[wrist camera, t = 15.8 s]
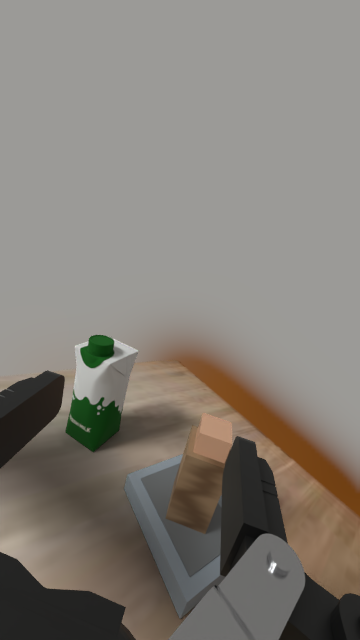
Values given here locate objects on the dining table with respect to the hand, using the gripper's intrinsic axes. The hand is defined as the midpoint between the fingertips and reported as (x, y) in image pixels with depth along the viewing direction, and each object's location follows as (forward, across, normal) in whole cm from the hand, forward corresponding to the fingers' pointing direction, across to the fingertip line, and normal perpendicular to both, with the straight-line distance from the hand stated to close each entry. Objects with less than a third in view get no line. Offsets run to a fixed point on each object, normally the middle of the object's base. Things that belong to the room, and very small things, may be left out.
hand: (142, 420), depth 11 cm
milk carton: (+28, +13, +30) cm, 44 cm away
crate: (+18, -6, +27) cm, 33 cm away
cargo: (+18, -6, +16) cm, 25 cm away
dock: (+19, -6, +30) cm, 36 cm away
